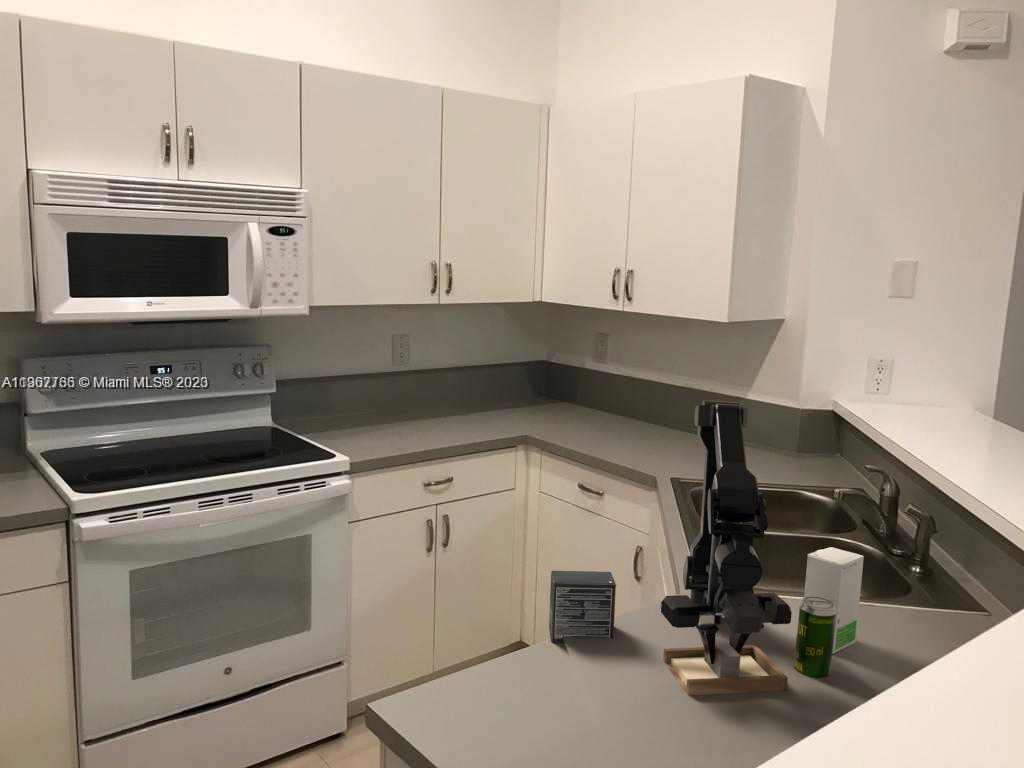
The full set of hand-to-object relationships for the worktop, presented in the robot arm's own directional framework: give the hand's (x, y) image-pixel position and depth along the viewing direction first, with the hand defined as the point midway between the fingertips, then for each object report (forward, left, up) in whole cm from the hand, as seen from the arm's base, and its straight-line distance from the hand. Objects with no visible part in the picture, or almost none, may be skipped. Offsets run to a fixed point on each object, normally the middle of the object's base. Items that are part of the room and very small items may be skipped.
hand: (721, 662), depth 129 cm
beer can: (0, +15, -3) cm, 16 cm away
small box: (-17, -18, -3) cm, 25 cm away
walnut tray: (0, 0, -3) cm, 3 cm away
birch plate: (0, 0, -2) cm, 2 cm away
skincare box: (-11, +24, -3) cm, 27 cm away
